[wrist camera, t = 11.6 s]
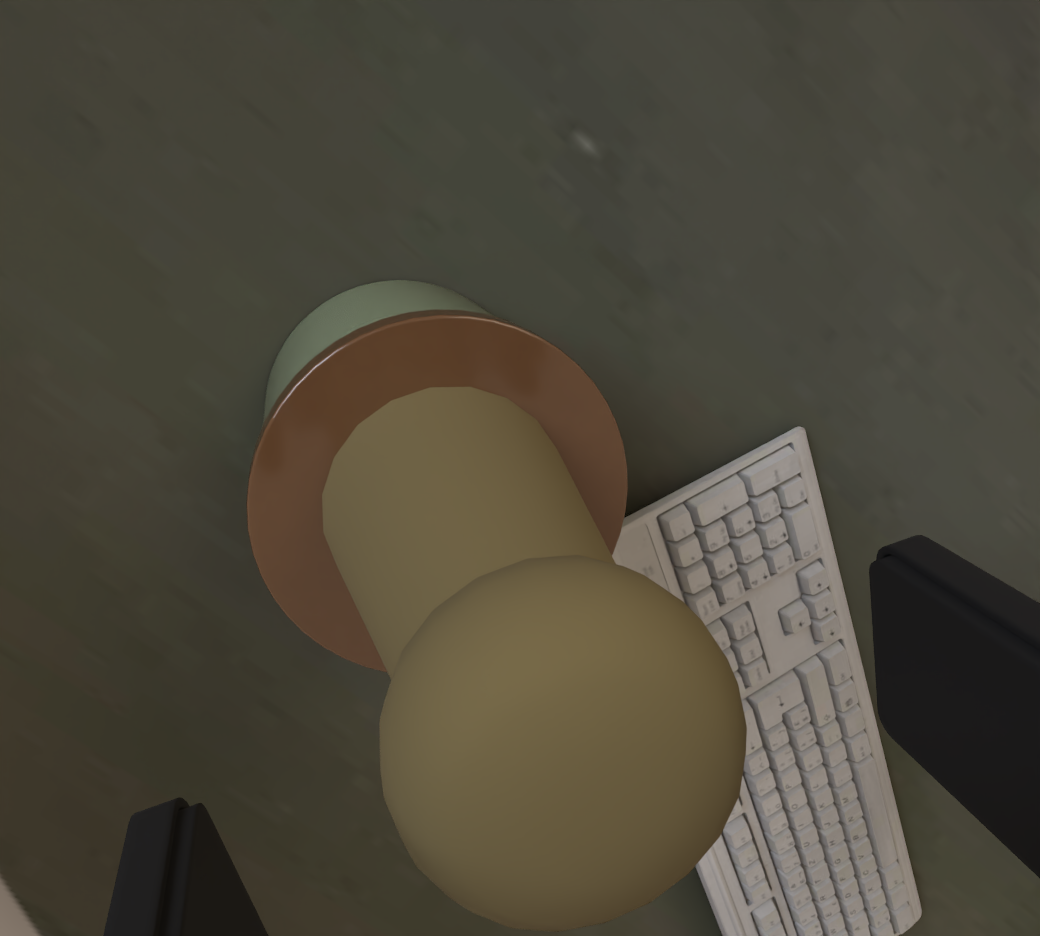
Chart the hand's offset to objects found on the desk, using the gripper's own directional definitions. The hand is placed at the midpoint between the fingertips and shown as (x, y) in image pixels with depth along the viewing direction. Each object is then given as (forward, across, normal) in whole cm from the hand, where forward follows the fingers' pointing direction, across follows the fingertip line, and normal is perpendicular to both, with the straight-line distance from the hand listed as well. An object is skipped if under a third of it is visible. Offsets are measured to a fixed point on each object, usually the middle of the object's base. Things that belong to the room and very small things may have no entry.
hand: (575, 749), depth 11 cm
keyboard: (+19, -12, +21) cm, 30 cm away
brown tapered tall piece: (+10, 0, +1) cm, 10 cm away
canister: (+19, 0, +1) cm, 19 cm away
